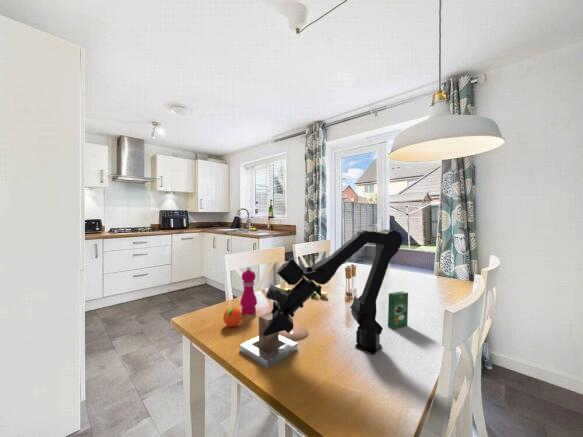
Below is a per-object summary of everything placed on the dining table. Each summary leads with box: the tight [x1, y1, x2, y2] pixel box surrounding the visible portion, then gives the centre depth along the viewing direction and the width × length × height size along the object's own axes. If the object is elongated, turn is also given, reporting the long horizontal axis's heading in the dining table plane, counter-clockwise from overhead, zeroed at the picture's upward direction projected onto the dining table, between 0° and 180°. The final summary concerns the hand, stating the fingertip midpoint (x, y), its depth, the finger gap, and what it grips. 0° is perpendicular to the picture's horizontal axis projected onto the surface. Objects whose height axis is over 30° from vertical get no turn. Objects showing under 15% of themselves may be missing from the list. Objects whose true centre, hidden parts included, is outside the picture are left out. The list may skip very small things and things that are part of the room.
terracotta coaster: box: [279, 324, 309, 341], centre depth 91 cm, size 11×11×1 cm
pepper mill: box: [239, 266, 258, 316], centre depth 109 cm, size 7×7×20 cm
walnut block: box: [258, 311, 280, 354], centre depth 79 cm, size 4×4×11 cm
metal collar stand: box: [239, 335, 298, 369], centre depth 79 cm, size 13×13×2 cm
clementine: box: [223, 307, 242, 328], centre depth 96 cm, size 8×7×7 cm
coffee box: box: [387, 291, 409, 330], centre depth 96 cm, size 8×3×13 cm, turn 115°
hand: (264, 329), depth 79 cm, fingers closed on walnut block, 6 cm apart
